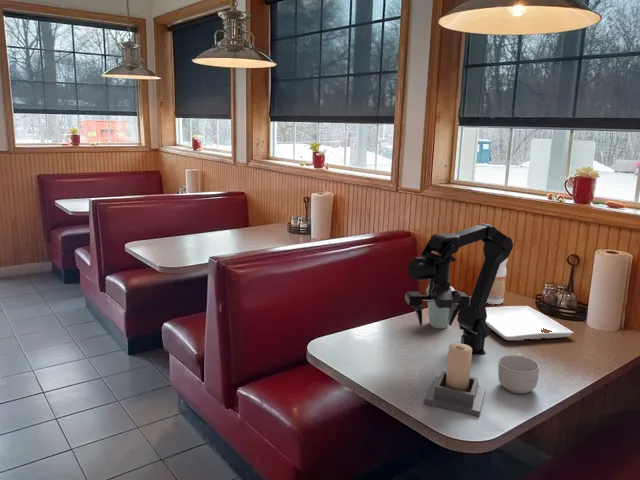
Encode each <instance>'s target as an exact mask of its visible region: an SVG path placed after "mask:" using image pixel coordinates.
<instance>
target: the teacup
mask: <svg viewBox="0 0 640 480" xmlns="http://www.w3.org/2000/svg"><path fill="white" fill-rule="evenodd" d="M497 363H498V368H497V369H498V370H497V371H498V372H497V374H498V382H499V383H500V384H501V386H502V387H503V388H504V389H506V390H507V391H508V392H511V393H514V394H520V395H521V394H523V395H524V394H527V393H529V392H531V391H533V390H534V389H535V388H536V387H537V385H538V382H539V381H538V380H539V372H540V367H541V366H540V364H539V362H538V361H536V359H535V360H534V359H532V358H530V357H527V356H524V355H523V354H522V353H519V352H518V353H515V354H510V355H504V356H500V358H499V359H498V361H497Z"/></svg>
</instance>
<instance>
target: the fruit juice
mask: <svg viewBox="0 0 640 480" xmlns="http://www.w3.org/2000/svg"><path fill="white" fill-rule="evenodd" d="M508 261H509V257H508V258H507V259H506V260H504V261H503V262H502V263H501V264H500V266H499V269H498V272H497V274H496V277H495V280H494V283H493V286H492V288H491V291H490V294H489V297H488V299H487V302H486V304H487V303H488V304H489V305H495V304H497V305H501V303H502V304H503V302H504V299H505V298H504V297H505V290H506V283H507V282H506V281H507V263H508Z"/></svg>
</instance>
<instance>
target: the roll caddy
mask: <svg viewBox="0 0 640 480" xmlns="http://www.w3.org/2000/svg"><path fill="white" fill-rule="evenodd" d="M446 374H447V371H443V370H442V371H441V372H440V375H439V376H437V375H436V376H435V377H434V379H433V380H432V382H431V385H430V386H429V389H428V392H427V393H426V395H425V398H424V405H429V406H432V407H436V408H440V409H444V410H448V411H454V412H458V413H461V414H466V415H470V416H473V417H474V416H475V417H478V418H479V417H480V416H481V412H482V408H483V403H484V401H485V400H484V399H485V395H486V390H487V389H486V388H487V387H486V386H483V385H479V380H480V379H479V378H478V377H472V376H470V377H469V387H468V392H465V391H460V390H456V389H451V388H447V387H445V385H446Z"/></svg>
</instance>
